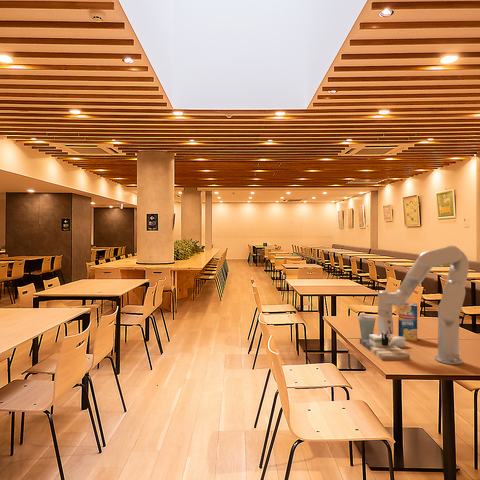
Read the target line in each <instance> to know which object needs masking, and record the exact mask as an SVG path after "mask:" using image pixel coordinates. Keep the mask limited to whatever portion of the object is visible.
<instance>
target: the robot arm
mask: <svg viewBox="0 0 480 480" xmlns="http://www.w3.org/2000/svg"><path fill="white" fill-rule="evenodd" d="M469 262H470V261H469V260H468V256H467V255H466V254H465V252H464V251H462V250H461V249H460V248H459V247H457V246H455V245H447V246H445V247H442V248H437V249H432V250H425V251H423V252H421V253H420V254H419V255H418V257H417V258H416V260H415V261H414V262H413V264H412V266H411V267H410V268H409V270H408V271H407V273H406V275H405V277H404V278H403V281H402V282H401V283H400V285H399V287H398V288H397V289H396V290H395V292H392V291H391V290H379V291H378V292H377V317H378V318H377V330H378V331H379V334H381V338H382V345H383V346H388V339H389V337H390V338H391V335H394V321H393V306H397V307H398V306H402V305H404V304H405V303H408V302H407V301H408V300H409V299H410V297H411V296H412V294H413V293H414V291H415V290H416V289H417V287H419V285H421V284H422V282H423V281H424V280H425V278H426V277H427V275H428V274H429V273H430V271H431V270H432V269H433V268H435V267H436V268H437V267H440V266H446V265H449V269H448V272H447V278H446V281H445V284H444V286H443V290H442V294H441V299H440V302H439V304H438V306H437V346H438V347H437V351H438V352H437V355H435V356H434V360H435V361H437V362H439V363H442V364H447V365H462V364H463V362H464V361H463V359H462V358H461V357H460V355H461V354H460V314H461V311H462V307H463V304H464V301H465V297H466V283H467V279H468V275H469V269H470V263H469Z"/></svg>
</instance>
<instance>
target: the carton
mask: <svg viewBox="0 0 480 480" xmlns="http://www.w3.org/2000/svg"><path fill="white" fill-rule="evenodd" d="M391 342H392V339H391V336H390V337H389V339H388V346H391ZM369 343H370V344H372V345H373V346H375V347H385V346H383V345H382V338H381V333H375V334H374V333H373V334H369Z"/></svg>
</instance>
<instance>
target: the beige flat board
mask: <svg viewBox="0 0 480 480" xmlns="http://www.w3.org/2000/svg"><path fill="white" fill-rule="evenodd" d="M359 344H360V345H362V346H363V348H366V349H367V350H368V351H369V352H371V354H374V356H376V357H377V358H379V359H380V360H381V361H399V360H400V361H402V360H403V361H405V360H406V361H407V360H408V361H409V360H411V355H410V354H409V353H407V352H406V351H404V350H403V349H402V348H400V347H397V346H395V345H393V344H392V343H391V346H385V347H375V346H373V345H372V344H370V343H369V339H362V338H359Z"/></svg>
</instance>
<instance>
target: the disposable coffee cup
mask: <svg viewBox="0 0 480 480" xmlns="http://www.w3.org/2000/svg"><path fill="white" fill-rule="evenodd" d="M357 317H358V318H357V319H358V323H359V324H358V325H359V330H360V337H361V339H369V334H374V332H375V331H374V329H375V326H376V325H375V324H376V317H375V316H374V315H370V314H363V313H362V314H359V315H358V316H357Z"/></svg>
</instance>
